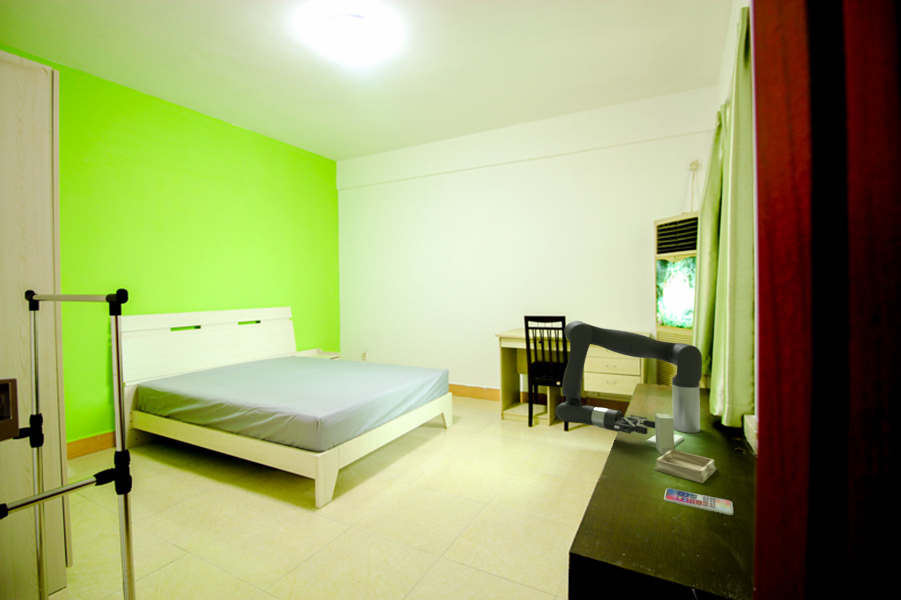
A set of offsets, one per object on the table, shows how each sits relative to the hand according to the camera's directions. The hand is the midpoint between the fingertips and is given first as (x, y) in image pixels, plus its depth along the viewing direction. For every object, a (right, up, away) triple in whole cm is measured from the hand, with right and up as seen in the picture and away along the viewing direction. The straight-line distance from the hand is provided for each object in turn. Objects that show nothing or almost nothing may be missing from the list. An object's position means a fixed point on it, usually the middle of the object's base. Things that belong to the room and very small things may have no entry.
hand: (652, 428), depth 144 cm
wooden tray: (+2, -7, -18) cm, 19 cm away
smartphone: (-6, -8, -37) cm, 38 cm away
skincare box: (+3, -7, -3) cm, 8 cm away
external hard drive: (+8, -8, +8) cm, 14 cm away
